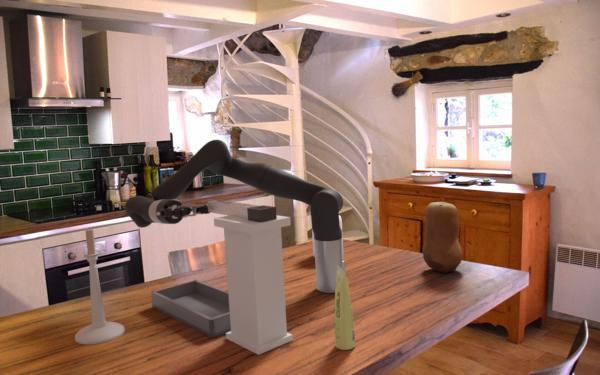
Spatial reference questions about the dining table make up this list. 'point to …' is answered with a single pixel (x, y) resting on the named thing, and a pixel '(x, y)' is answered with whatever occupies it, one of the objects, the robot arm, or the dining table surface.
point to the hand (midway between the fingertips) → (196, 211)
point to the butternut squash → (442, 237)
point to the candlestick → (96, 305)
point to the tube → (343, 314)
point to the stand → (255, 282)
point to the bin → (196, 306)
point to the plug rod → (243, 210)
